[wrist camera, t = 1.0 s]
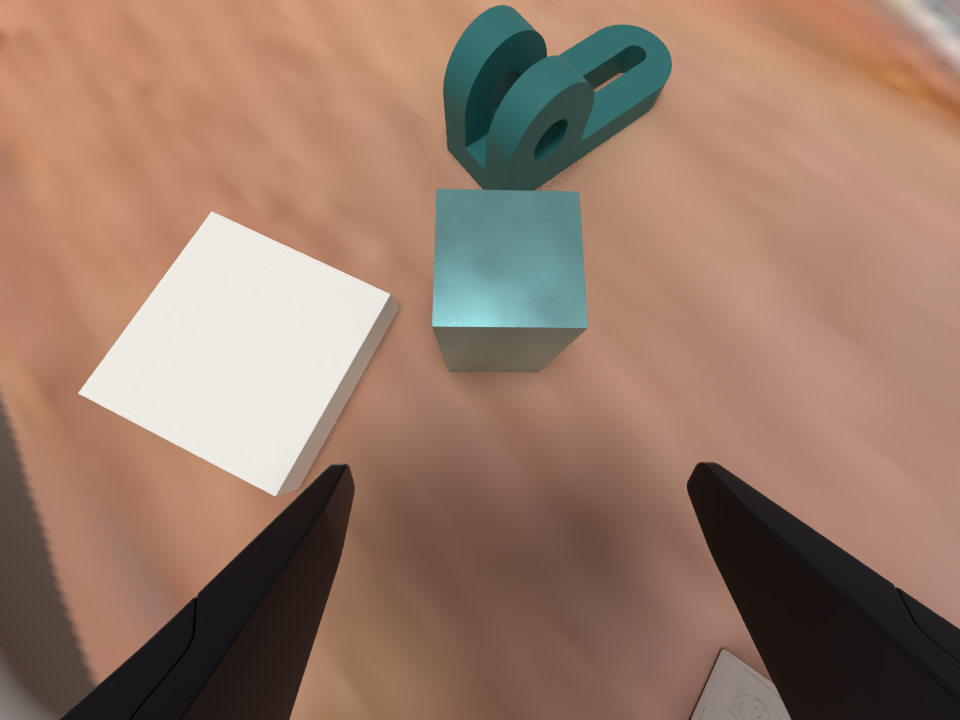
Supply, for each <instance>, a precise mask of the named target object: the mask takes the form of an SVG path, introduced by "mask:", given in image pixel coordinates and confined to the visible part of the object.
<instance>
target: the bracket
mask: <svg viewBox="0 0 960 720" xmlns="http://www.w3.org/2000/svg"><path fill="white" fill-rule="evenodd" d="M671 68H672V61H671V56H670V53H669V51H668V49H667V47H666V46H665V45H664V43H663V42H662V41H661V40H660V39H659V38H658V37H657V36H655V35H654V34H652V33H651V32H649V31H647V30H645V29H643V28H640V27H636V26H632V25H613V26H609V27H605V28H603V29H601V30H599V31H597V32H596V33H594V34H592V35H591V36H589V37H588V38H586V39H584V40H583V41H581V42H580V43H578V44H576V45H575V46H573V47H572V48H570V49H569V50H567V51H565V52H564V53H562V54H561V55H559V56H550V57H547V50H546V44H545V41H544V39H543V38H542V36H541V35H540V34H539V33H538V32H537V31H536V30H535V29H534V28H533V27H532V26H531V25H530V24H529V23H528V22H527V21H526V20H525V19H524V18H523V17H522V16H521V15H520V14H519V13H518V12H517V11H516V10H515V9H513V8H512V7H509V6H505V5H500V6H495V7H492V8H490V9H488V10H486V11H485V12H483V13H482V14H480V15H479V16H478V17H477V18H476V19H475V20H474V21H473V22H472V23H471V24H470V25H469V26H468V27H467V29H466V30H465V31H464V33H463V34H462V36H461V37H460V39H459V41H458V42H457V44H456V46H455V48H454V50H453V52H452V55H451V57H450V60H449V62H448V65H447V69H446V73H445V78H444V87H443V95H444V108H445V121H446V133H447V145H448V150H449V151H450V152H451V154H452V155H453V156H454V157H455V158H456V159H457V160H458V162H459V163H460V164H461V165H462V166H463V167H464V168H465V169H466V171H467V172H468V173H469V174H470V175H471V176H472V177H473V179H474V180H475V181H476V182H477V183H478V184H479V185H480V186H481V188H482V189H483V190H519V191H534V190H535V189H537V188H538V187H540V186H541V185H543V184H544V183H546V182H547V181H548V180H550V179H551V178H553V177H554V176H556V175H557V174H559V173H560V172H561V171H563V170H564V169H566V168H567V167H569V166H570V165H572V164H573V163H574V162H576V161H577V160H579V159H580V158H582V157H583V156H585V155H586V154H587V153H589V152H590V151H592V150H593V149H595V148H596V147H598V146H599V145H600V144H602V143H603V142H605V141H606V140H608V139H609V138H611V137H612V136H613V135H615V134H616V133H618V132H619V131H621V130H622V129H624V128H625V127H626V126H628V125H629V124H631V123H632V122H634V121H635V120H637V119H638V118H639V117H641V116H642V115H644V114H645V113H646V112H648V111H649V110H650V109H651V107H652V106H653V105H654V103H655V101H656V99H657V98H658V96H659V94H660V92H661V90H662V89H663V87H664V85H665V83H666V81H667V80H668V78H669V76H670V73H671ZM618 73H624V74H623V75H621V76H620V77H618V78H617V79H615V80H614V81H612V82H611V83H609V84H608V85H606V86H605V87H603V88H602V89H600V90H599V91H596V92H594V89H595V88H597V87H598V86H600V85H601V84H603V83H604V82H606V81H607V80H609V79H610V78H612V77H613V76H615V75H616V74H618Z"/></svg>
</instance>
